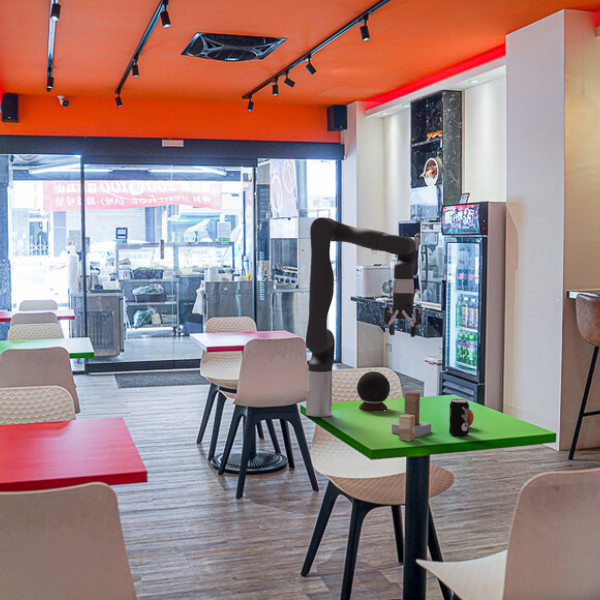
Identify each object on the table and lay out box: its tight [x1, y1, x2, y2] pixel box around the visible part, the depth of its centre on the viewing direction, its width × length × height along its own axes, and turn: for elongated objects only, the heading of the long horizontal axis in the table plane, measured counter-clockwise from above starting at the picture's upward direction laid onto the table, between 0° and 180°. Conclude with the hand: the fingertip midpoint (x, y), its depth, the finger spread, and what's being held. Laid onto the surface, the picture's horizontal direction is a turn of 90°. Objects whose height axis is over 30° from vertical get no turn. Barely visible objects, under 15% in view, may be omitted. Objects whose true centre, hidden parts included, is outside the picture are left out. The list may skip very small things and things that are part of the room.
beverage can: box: [448, 398, 470, 437], centre depth 273 cm, size 7×7×12 cm
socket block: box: [391, 421, 432, 438], centre depth 276 cm, size 10×10×3 cm
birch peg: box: [398, 413, 415, 442], centre depth 265 cm, size 4×4×8 cm
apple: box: [469, 408, 475, 427], centre depth 284 cm, size 8×8×8 cm
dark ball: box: [356, 370, 391, 412], centre depth 317 cm, size 13×13×15 cm
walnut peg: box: [403, 391, 421, 426], centre depth 275 cm, size 4×4×14 cm
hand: (402, 335), depth 289 cm, fingers open, 8 cm apart
